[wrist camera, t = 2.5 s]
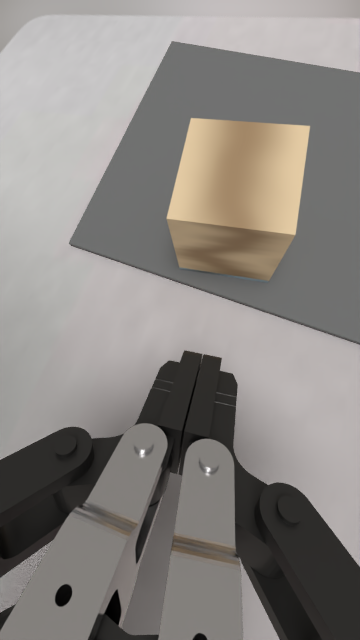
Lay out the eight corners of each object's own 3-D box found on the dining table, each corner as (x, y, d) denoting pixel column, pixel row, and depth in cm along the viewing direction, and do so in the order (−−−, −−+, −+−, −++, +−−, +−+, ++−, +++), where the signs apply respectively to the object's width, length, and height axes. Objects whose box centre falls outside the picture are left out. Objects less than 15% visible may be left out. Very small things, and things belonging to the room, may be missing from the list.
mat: (71, 245, 24) (68, 243, 24) (172, 45, 28) (172, 41, 28) (379, 351, 19) (383, 350, 19) (447, 92, 23) (451, 88, 23)
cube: (179, 269, 22) (166, 218, 15) (196, 194, 23) (190, 118, 17) (267, 282, 21) (295, 234, 14) (279, 203, 22) (310, 126, 16)
